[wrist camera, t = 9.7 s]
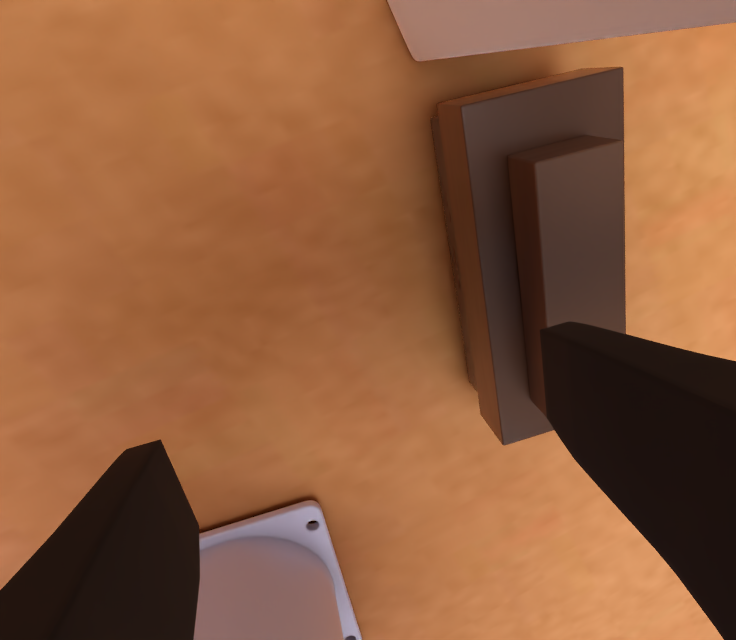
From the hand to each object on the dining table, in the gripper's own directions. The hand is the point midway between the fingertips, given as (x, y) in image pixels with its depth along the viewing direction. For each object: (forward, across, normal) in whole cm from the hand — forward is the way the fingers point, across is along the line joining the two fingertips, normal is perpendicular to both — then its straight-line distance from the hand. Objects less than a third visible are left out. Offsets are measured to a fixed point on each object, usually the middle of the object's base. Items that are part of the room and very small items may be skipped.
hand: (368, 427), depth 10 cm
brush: (+9, -7, +1) cm, 12 cm away
